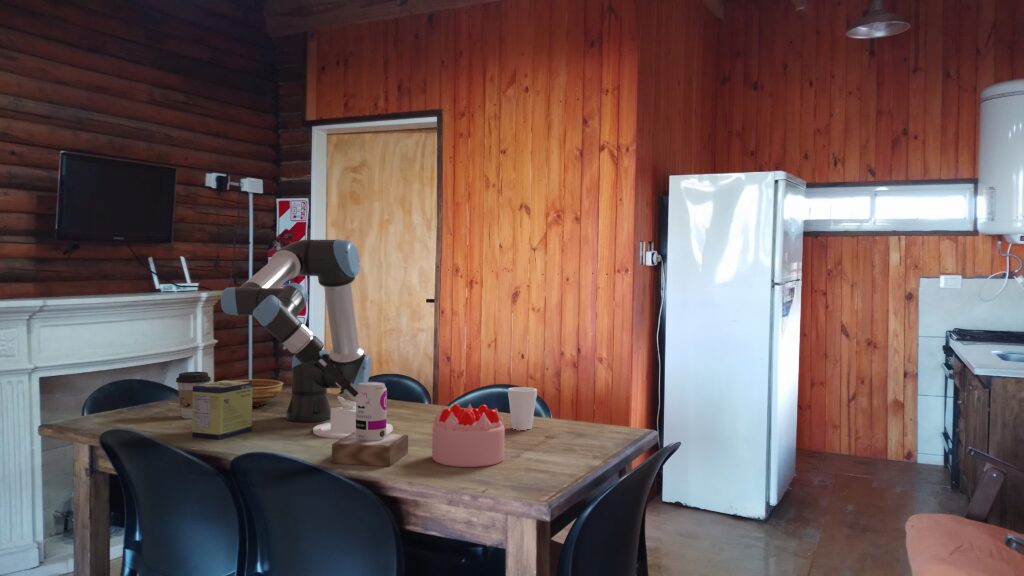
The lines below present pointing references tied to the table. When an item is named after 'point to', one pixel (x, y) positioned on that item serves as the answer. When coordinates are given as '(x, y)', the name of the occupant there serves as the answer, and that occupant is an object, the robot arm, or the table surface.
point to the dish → (342, 421)
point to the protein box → (222, 409)
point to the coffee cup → (189, 390)
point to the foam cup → (522, 406)
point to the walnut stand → (370, 450)
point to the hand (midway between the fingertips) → (360, 399)
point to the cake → (468, 437)
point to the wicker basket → (263, 390)
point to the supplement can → (372, 412)
